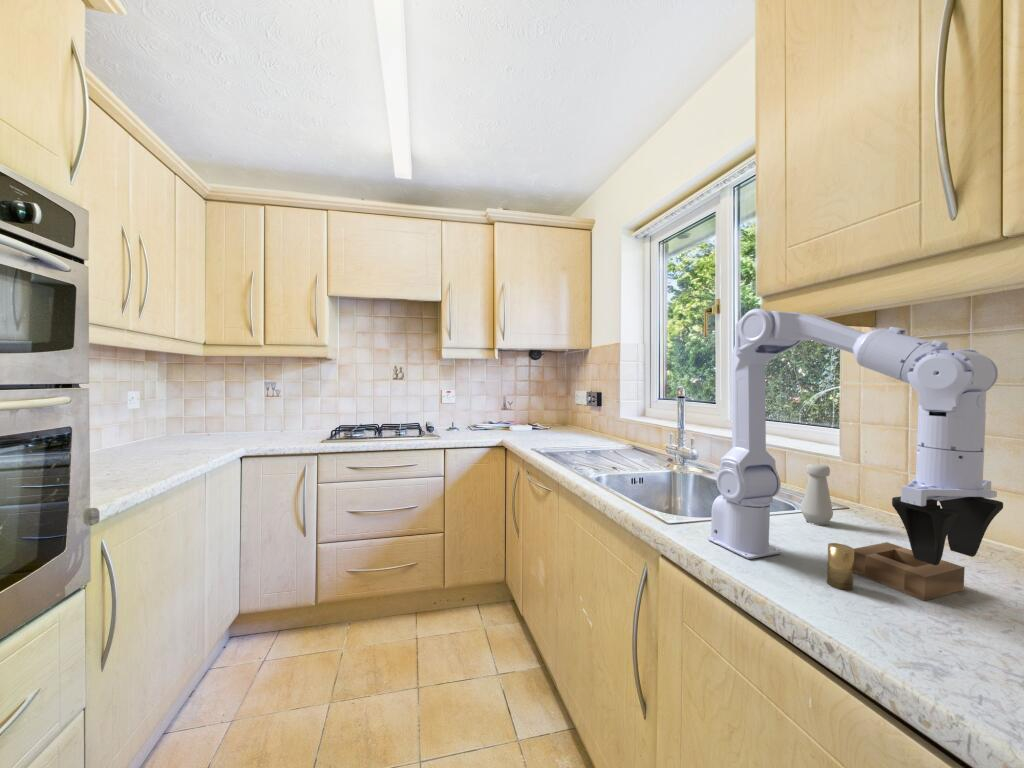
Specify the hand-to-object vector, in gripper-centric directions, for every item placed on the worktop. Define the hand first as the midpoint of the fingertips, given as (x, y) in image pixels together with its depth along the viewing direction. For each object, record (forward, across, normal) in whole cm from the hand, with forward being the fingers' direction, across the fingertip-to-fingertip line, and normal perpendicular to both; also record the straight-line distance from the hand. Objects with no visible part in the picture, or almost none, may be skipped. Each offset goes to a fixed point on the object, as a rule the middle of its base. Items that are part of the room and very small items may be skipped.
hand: (944, 557), depth 52 cm
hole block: (+10, +14, +11) cm, 20 cm away
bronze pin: (+10, +2, +13) cm, 17 cm away
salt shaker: (+10, +28, +34) cm, 45 cm away
